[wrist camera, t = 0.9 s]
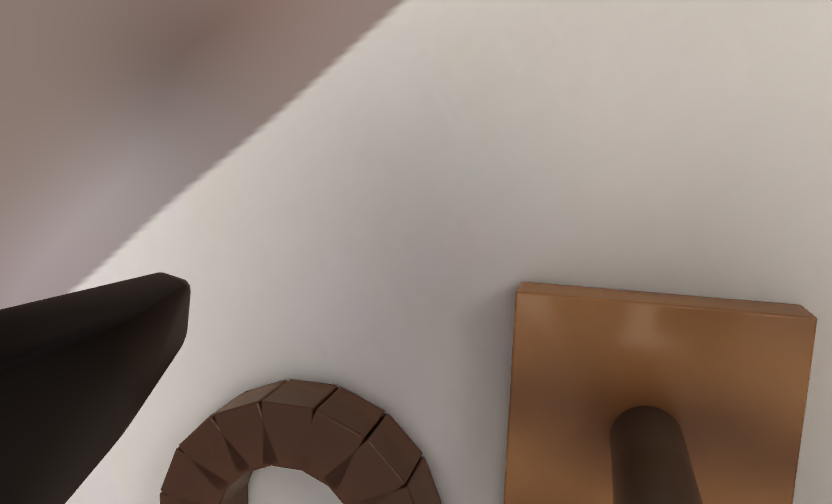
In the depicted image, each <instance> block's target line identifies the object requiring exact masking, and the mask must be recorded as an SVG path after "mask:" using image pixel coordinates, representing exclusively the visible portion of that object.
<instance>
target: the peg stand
mask: <svg viewBox="0 0 832 504" xmlns="http://www.w3.org/2000/svg"><path fill="white" fill-rule="evenodd" d="M816 325H817V318H816V317H815V316H814V315H813V314H812V313H810V312H809V311H808V310H807V309H805V308H804V307H803V306H801V305H795V304H783V303H771V302H759V301H747V300H735V299H723V298H711V297H699V296H687V295H675V294H663V293H652V292H640V291H628V290H616V289H604V288H592V287H580V286H568V285H556V284H544V283H532V282H521V284H520V286H519V288H518V290H517V291H516V297H515V314H514V331H513V349H512V366H511V383H510V401H509V418H508V435H507V452H506V470H505V487H504V504H792V502H793V495H794V487H795V480H796V473H797V465H798V458H799V450H800V443H801V436H802V428H803V421H804V413H805V406H806V399H807V391H808V384H809V376H810V369H811V362H812V354H813V347H814V340H815V332H816Z"/></svg>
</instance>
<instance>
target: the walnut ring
mask: <svg viewBox="0 0 832 504" xmlns="http://www.w3.org/2000/svg"><path fill="white" fill-rule="evenodd" d="M383 415H384V410H382V409H380V408H378V407H377V406H375V405H373V404H371V403H369V402H368V401H366V400H364V399H362V398H360V397H358V396H357V395H355V394H353V393H351V392H349V391H348V390H346V389H344V388H342V387H340V388H339V389H338V390H337V385H331V384H324V383H316V382H308V381H301V380H293V379H290V380H289V381H287V380H283V381H279V382H276V383H273V384H269V385H266V386H263V387H259V388H256V389H253V390H249V391H246V392H245V393H243V394H241V395H239V396H238V397H236V398H235V399H233V400H232V401H231V402H229V403H228V404H226V405H225V406H224V407H222V408H221V409H219V410H218V411H217V412H215V413H214V414H212V415H211V416H209V417H208V418H207V419H206V420H205V421H204V422H203V423H202V424H201V425H200V426H199V427H198V428H197V429H196V430H194V431H193V432H192V433H191V434H190V435H189V436H188V437H187V438H186V439H185V440H184V441H183V442H182V443H180V445H179V447H178V448H177V449H176V451H175V454H174V456H173V459H172V462H171V464H170V467H169V469H168V472H167V475H166V477H165V480H164V482H163V485H162V488H161V491H162V492H161V493H160V504H247V483H248V480H249V478H250V476H251V473H252V471H253V470H256V469H260V468H263V467H267V466H271V465H272V466H278V467H284V468H290V469H297V470H302V471H304V472H305V473H307V474H309V475H311V476H312V477H314V478H316V479H317V480H319V481H321V482H323V483H324V484H326V485H328V486H329V487H330V488H331V490H332V491H333V492H334V493H335V494H336V496H337V497H338V498H339V499H340V500H341V501H342V503H343V504H441V501H440V498H439V496H438V493H437V490H436V487H435V485H434V482H433V479H432V477H431V474H430V471H429V468H428V466H427V463H426V460H425V458H424V457H420V456H421V454H422V452H421V451H420V450H419V448H418V447H417V446H416V445H415V444H414V443H413V441H412V440H411V439H410V438H409V437H408V436H407V435H406V433H405V432H404V431H403V430H402V429H401V428H400V426H399V425H398V424H397V423H396V422H395V421H394V420H393V418H392V417H391V416H390V415H389V414H386V415H385V416H384V417H383ZM382 417H383V418H382Z"/></svg>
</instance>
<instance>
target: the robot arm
mask: <svg viewBox="0 0 832 504" xmlns="http://www.w3.org/2000/svg"><path fill="white" fill-rule="evenodd" d="M190 293H191V290H190V285H189V283H188V282H187V281H186V280H184V279H181V278H178V277H175V276H172V275H169V274H166V273H161V272H159V273H154V274H150V275H146V276H142V277H137V278H133V279H129V280H125V281H120V282H116V283H112V284H107V285H103V286H99V287H95V288H90V289H86V290H82V291H78V292H73V293H69V294H65V295H61V296H57V297H52V298H48V299H44V300H39V301H35V302H31V303H27V304H22V305H18V306H14V307H9V308H5V309H1V310H0V504H65V503H66V502H67V500H68V499H69V498H70V497H71V496H72V495H73V493H74V492H75V491H76V490H77V489H78V487H79V486H80V485H81V484H82V483H83V481H84V480H85V479H86V478H87V477H88V475H89V474H90V473H91V472H92V471H93V470H94V468H95V467H96V466H97V465H98V464H99V462H100V461H101V460H102V459H103V458H104V456H105V455H106V454H107V453H108V452H109V451H110V449H111V448H112V447H113V446H114V444H115V443H116V442H117V441H118V439H119V438H120V437H121V436H122V434H123V433H124V432H125V430H126V429H127V427H128V426H129V425H130V423H131V422H132V420H133V419H134V417H135V416H136V414H137V413H138V411H139V410H140V408H141V407H142V405H143V404H144V402H145V401H146V399H147V398H148V396H149V395H150V393H151V392H152V390H153V389H154V387H155V386H156V384H157V383H158V381H159V380H160V378H161V377H162V375H163V374H164V372H165V371H166V369H167V368H168V366H169V365H170V363H171V362H172V360H173V359H174V357H175V356H176V354H177V353H178V351H179V350H180V348H181V346H182V345H183V343H184V340H185V337H186V334H187V327H188V316H189V305H190Z"/></svg>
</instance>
